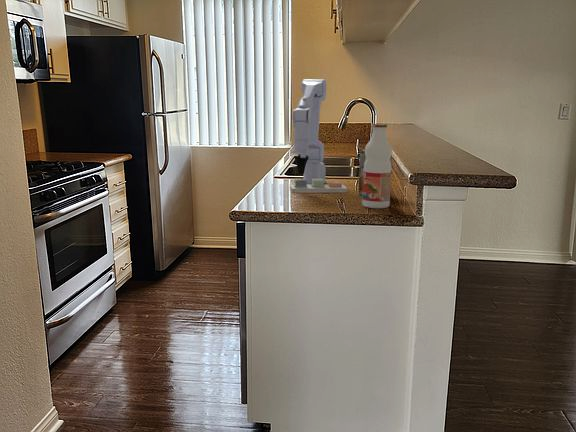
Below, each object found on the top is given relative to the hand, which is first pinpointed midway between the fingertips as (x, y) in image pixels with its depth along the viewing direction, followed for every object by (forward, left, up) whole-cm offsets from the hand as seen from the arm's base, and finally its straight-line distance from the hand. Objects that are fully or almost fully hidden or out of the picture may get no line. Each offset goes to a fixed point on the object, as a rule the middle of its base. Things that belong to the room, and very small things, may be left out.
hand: (300, 173), depth 206 cm
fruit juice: (-2, +39, -7) cm, 39 cm away
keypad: (-6, +4, -7) cm, 10 cm away
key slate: (0, 0, -5) cm, 5 cm away
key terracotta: (-12, +8, -6) cm, 15 cm away
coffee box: (-17, +23, -7) cm, 29 cm away
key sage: (-6, +4, -5) cm, 8 cm away
